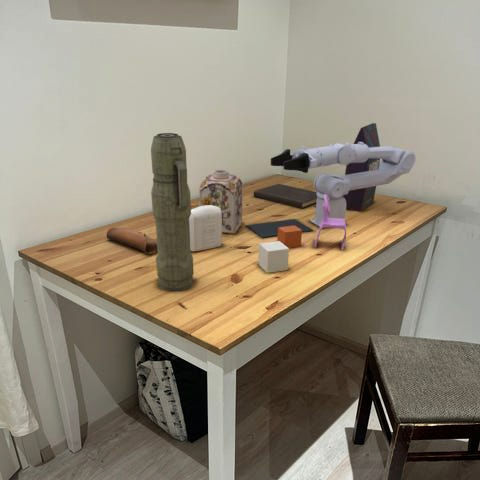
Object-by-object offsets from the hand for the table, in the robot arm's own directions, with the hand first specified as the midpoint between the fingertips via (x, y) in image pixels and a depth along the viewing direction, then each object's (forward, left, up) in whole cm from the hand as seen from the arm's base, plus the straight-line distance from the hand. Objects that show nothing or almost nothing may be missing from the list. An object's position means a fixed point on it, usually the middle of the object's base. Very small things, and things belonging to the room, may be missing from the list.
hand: (277, 163), depth 144 cm
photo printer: (+25, +5, -21) cm, 33 cm away
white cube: (+13, +25, -21) cm, 35 cm away
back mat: (-3, -2, -21) cm, 21 cm away
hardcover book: (-23, -32, -21) cm, 45 cm away
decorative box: (-43, -15, -21) cm, 50 cm away
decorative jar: (+14, -10, -21) cm, 27 cm away
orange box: (+1, +12, -21) cm, 24 cm away
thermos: (+40, +25, -21) cm, 52 cm away
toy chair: (-10, +17, -21) cm, 29 cm away
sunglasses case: (+43, -5, -21) cm, 48 cm away
